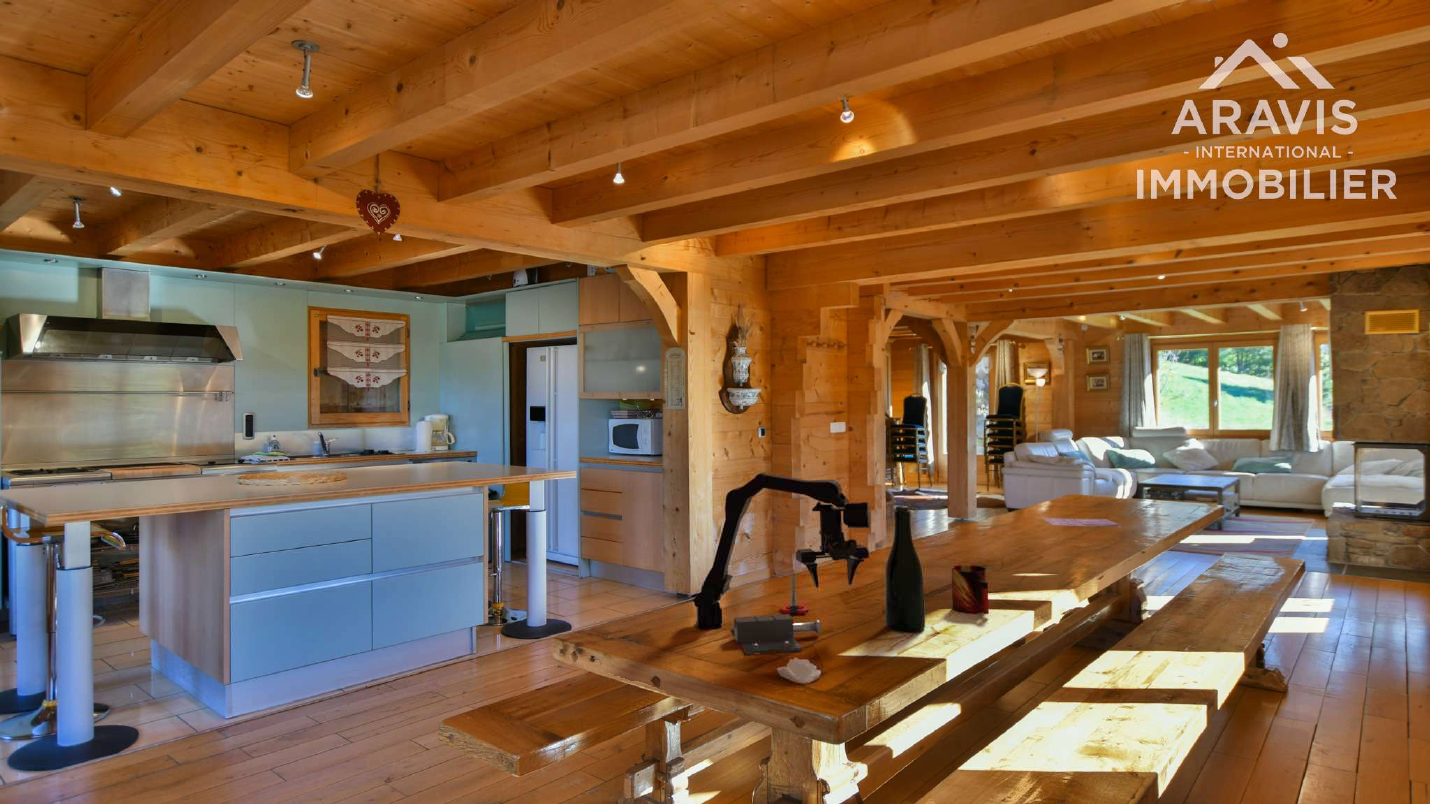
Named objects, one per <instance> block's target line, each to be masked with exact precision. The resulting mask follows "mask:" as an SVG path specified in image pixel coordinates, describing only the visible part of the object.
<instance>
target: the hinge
mask: <svg viewBox="0 0 1430 804" xmlns="http://www.w3.org/2000/svg"><path fill="white" fill-rule="evenodd" d="M733 621H734V622H733V624H734V625H732V627H731V628H732V632H733V633H734V640H735V642H736V644H737V645H741V647H743V648H742V649H743V651H744V654H745V655H746V656H749V655H748V654H751V655H756V654H755V653H766V654H774V653H773V652H780V653H792V652H793V651H794V652H803V649H802V646H801V645H800V644H799V642H798V641H797V639H795V636H794V633H793V623H794V619H793V617H792V615H790V614H774V615H773V613H772V614H771V615H757V616H756V615H753V616H743V617H740V616H739V617H734V618H733Z"/></svg>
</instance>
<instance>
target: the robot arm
mask: <svg viewBox="0 0 1430 804" xmlns="http://www.w3.org/2000/svg"><path fill="white" fill-rule="evenodd" d="M764 489H767V490H773V491H774V490H775V491H780V492H785V493H786V492H787V493H790V494H791V493H792V494H795V495H797V494H798V495H802V496H806V497H809V498H811V499H812V500H816V501H818V502H817V503H816V504H815V506H814V507H812V509H811V511H812V512H819V526H820V528H819V529H820V530H819V533H818V534H819V535H820V546H819V550H818V551H816V550H814V549H812V548H799V549H797V550H796V552H795V560H796V561H797V562H799V563H801V564H802V565H804V566H805V567H806V569H807V570H808V572H809V575H810V577H811V580H812V581H813V584H814V586H815V588H816V589H818V588H819V578H818V577H819V576H818V563H817V562H816V561H817V559H818V560H819V559H826V558H827V559H829V558H831V560H832V561H836V562H839V561H840V560H841V561H842V560H845V561H846V571H847V572H846V573H847V583H848V585H849V586H851V585H852V584H853V580H854V577H855V575H856V574H855V573H856V571H857V569H858V566H859V565H860V564H861V563H863V562H865V559H869V558H870V552H869V549H868V548H867V546H864V545H862V544H858V543H857V540H856V539H848V540H846V539H845V534H844V532H843V525H844V526H847V528H848V529H870V528H871V513H870V507H869V502H868V501H861V502H850V501H849V499H848V498H847V497H846V496H845V494H844V493H843V492H842V487H841V484H839V482H838V481H836V480H835V479H814V480H810V479H807V480H806V479H801V478H796V477H795V478H794V477H788V476H783V475H776V474H770V473H767V472H760V473H758V474H756V475H755V477H753V478H752V479H751V480H750V481H748V482H747V483H745V484H743V485H742V486H739V487H736V488H734V489H731V490H730V491H728V493H727V494H726V496H725V503H724V515H725V517H724V519H725V520H724V521H723V526H722V531H721V533H720V534H721V535H720V537H719V542H718V545H717V547H716V548H717V549H716V552H715V556H714V560H713V564H712V566H711V569H710V570H709V572H708V573H707V575H706V577H705V580H704V581H703V582H702V585H701V590H700V592H699V593H698V594H696V596H695V597H694V598H693V604H694V606H695V608H696V621H695V624H696V626H697V629H698V630H703V629H718V628H719V629H720V628H722V624H723V609H722V607H721V603H720V602H719V601H721V598H722V596H724V595H725V594H726V592H728V591H729V590H730V585H731V582H732V579H733V575H732V574H729V565H730V561H731V558H732V555H733V549H734V547H735V543H736V539H737V536H738V531H739V529H740V528H739V527H740V524H741V521H742V519H743V517H744V516H745V514H746V512H747V511H748V509H749V507H750V504H751V502H752V499H753V497H754V496H756V495H757V494H759V493H760V492H762V490H764ZM842 521H843V523H842Z"/></svg>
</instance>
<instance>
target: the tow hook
mask: <svg viewBox="0 0 1430 804" xmlns="http://www.w3.org/2000/svg"><path fill="white" fill-rule="evenodd" d="M795 572H796V571H795V569H792V570H791V597H790V604H786V605H782V606H781V607H780V611H781V612H782V615H784V614H789V615H790V614H798V615H800V614H805V615H806V613H807V612H806V611H808V610H809V611H810V607H809V606H807V605H803V604H798V602H797V594H796V593H797V592H796V591H797V589H796V588H797V587H796V585H797V583H796V576H795V575H796V574H795ZM789 607H790V608H789ZM798 607H801V608H803V609H800V608H798ZM787 608H789V609H787ZM809 611H808V612H809Z"/></svg>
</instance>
